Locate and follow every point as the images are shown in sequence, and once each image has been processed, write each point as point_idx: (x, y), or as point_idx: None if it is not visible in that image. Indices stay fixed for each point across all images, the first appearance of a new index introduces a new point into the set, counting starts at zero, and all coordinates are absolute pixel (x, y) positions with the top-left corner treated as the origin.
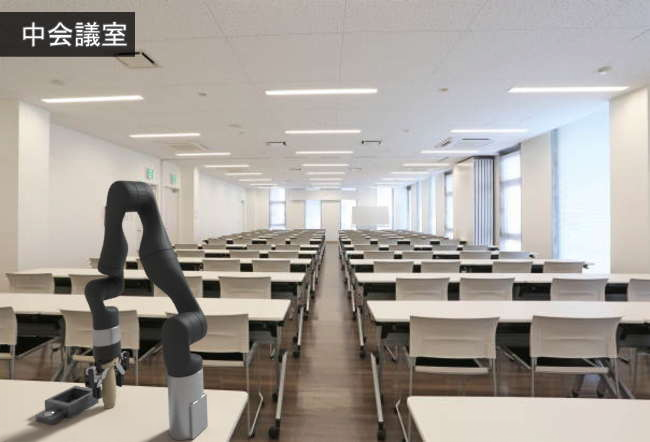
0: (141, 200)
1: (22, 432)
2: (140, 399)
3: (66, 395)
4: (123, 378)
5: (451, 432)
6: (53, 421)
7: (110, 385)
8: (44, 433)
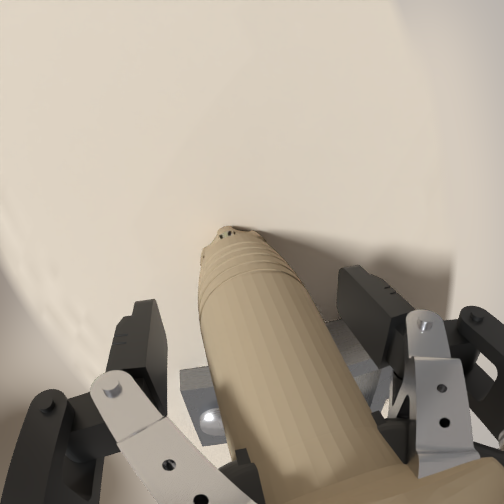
0: None
1: None
2: (91, 155)
3: None
4: (115, 345)
5: None
6: None
7: (294, 302)
8: (440, 290)
